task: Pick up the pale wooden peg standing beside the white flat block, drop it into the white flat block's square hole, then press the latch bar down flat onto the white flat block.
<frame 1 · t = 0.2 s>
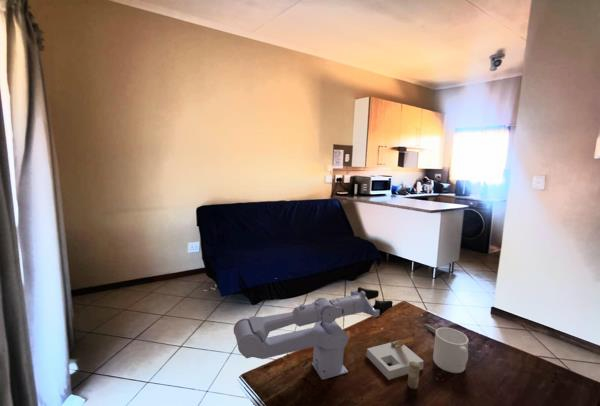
hand: (384, 298, 102), 21 cm above the table, tool horizontal, fingers open, 7 cm apart
mug: (451, 366, 101), on the table
white flat block: (393, 362, 101), on the table
peg: (412, 385, 91), on the table
latch: (403, 341, 103), point 6 cm above the table, hinge at 40.0°
caliper: (439, 340, 116), on the table
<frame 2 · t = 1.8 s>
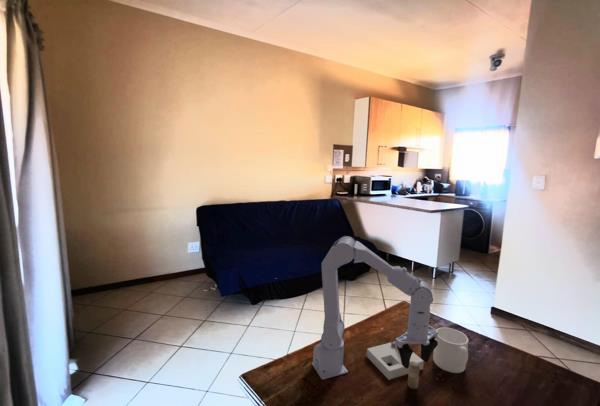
hand: (414, 363, 90), 7 cm above the table, tool pointing down, fingers open, 7 cm apart
nothing on the table moved.
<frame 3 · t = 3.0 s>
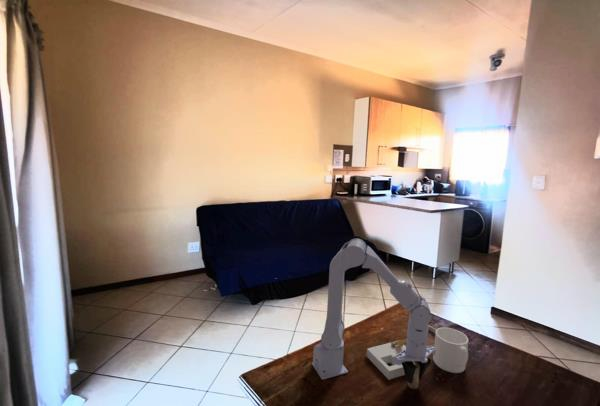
hand: (413, 379, 91), 2 cm above the table, tool pointing down, fingers closed on peg, 3 cm apart
peg: (412, 385, 91), on the table, touching gripper
everything else where it was.
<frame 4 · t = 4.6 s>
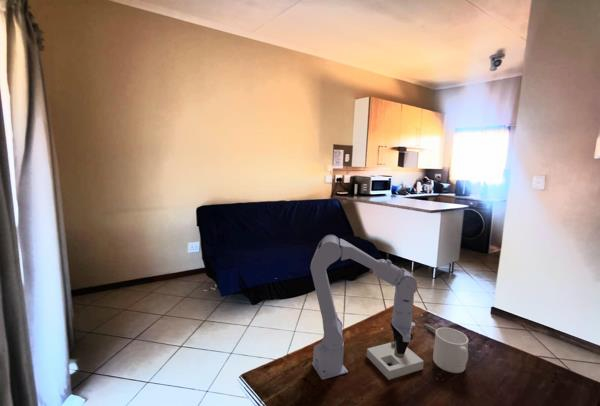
hand: (399, 349, 94), 9 cm above the table, tool pointing down, fingers closed on peg, 3 cm apart
peg: (399, 355, 95), point 7 cm above the table, touching gripper
everything else where it was.
when the fingers open (4 cm above the table, at t = 6.1 s): peg drops 2 cm, resting in white flat block.
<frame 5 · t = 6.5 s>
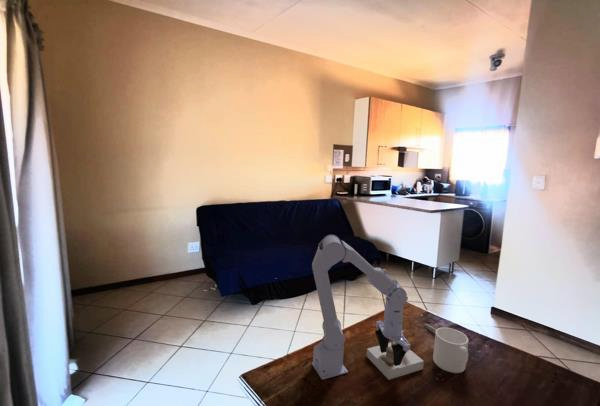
hand: (390, 358, 98), 4 cm above the table, tool pointing down, fingers open, 6 cm apart
peg: (389, 368, 98), resting in white flat block
everything else where it was.
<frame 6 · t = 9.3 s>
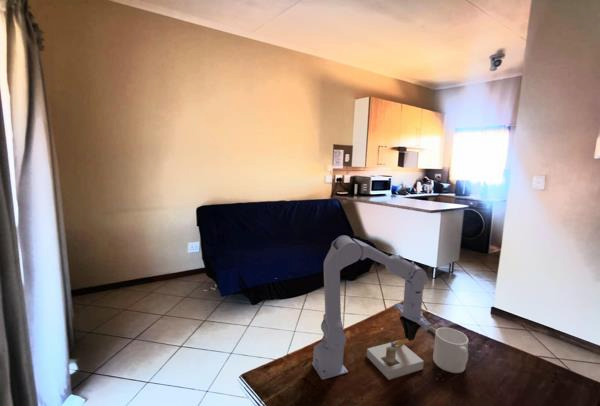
hand: (409, 338, 100), 9 cm above the table, tool pointing down, fingers closed
latch: (403, 341, 103), point 6 cm above the table, hinge at 39.0°, touching gripper
everything else where it was.
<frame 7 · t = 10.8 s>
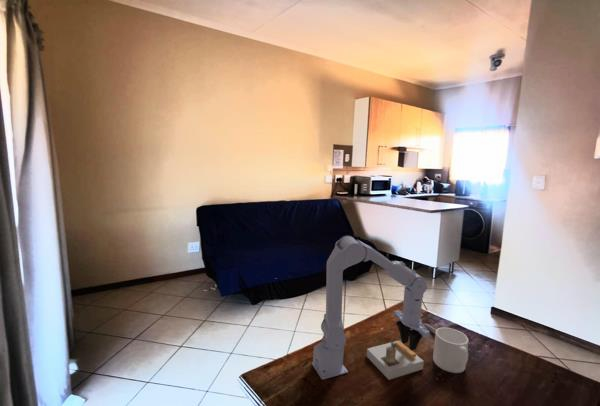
hand: (408, 345, 101), 6 cm above the table, tool pointing down, fingers open, 3 cm apart
latch: (405, 349, 102), point 4 cm above the table, hinge at 2.2°
everything else where it was.
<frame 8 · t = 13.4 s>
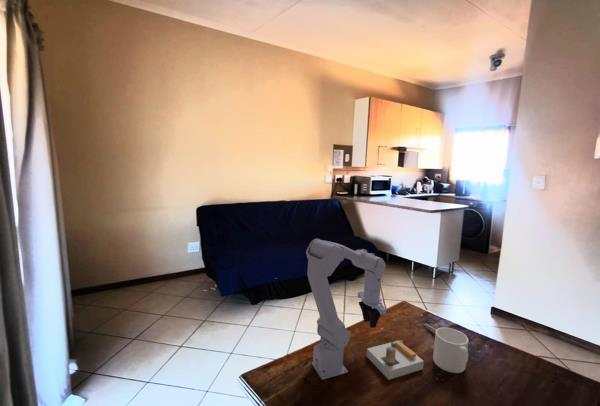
hand: (369, 323, 108), 9 cm above the table, tool pointing down, fingers open, 3 cm apart
nothing on the table moved.
at the end: peg 0.1 cm from the target spot on the white flat block, point 0.0 cm above the white flat block's base; peg tilted 0°; latch at +2° (first picture: +40°) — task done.
